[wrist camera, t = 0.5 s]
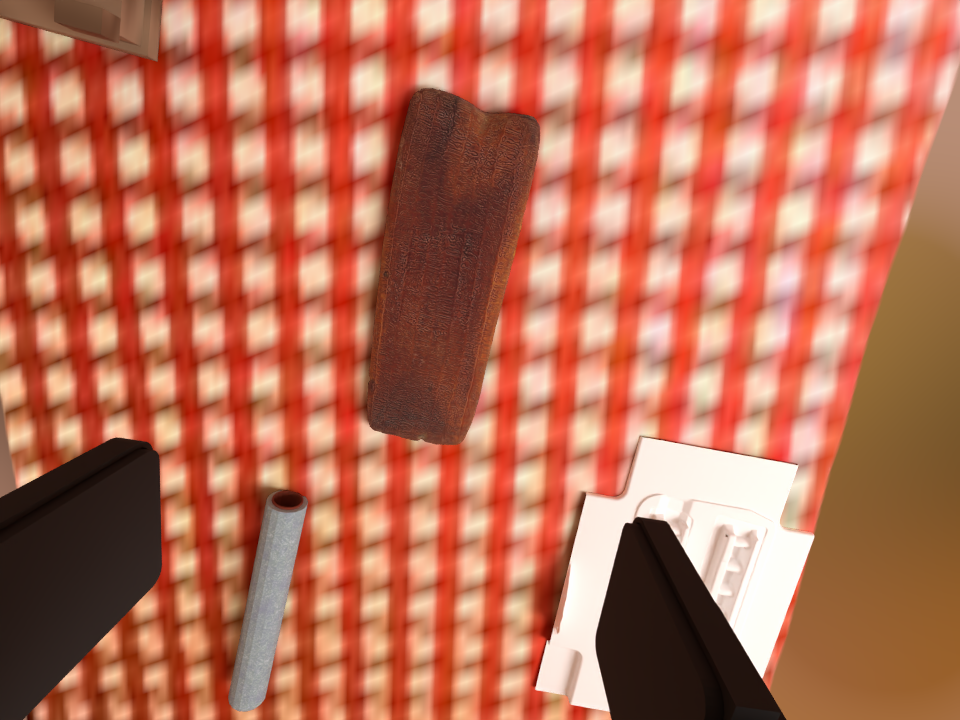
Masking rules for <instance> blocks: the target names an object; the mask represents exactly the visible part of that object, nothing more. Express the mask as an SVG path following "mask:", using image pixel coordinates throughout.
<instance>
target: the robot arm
mask: <svg viewBox="0 0 960 720" xmlns="http://www.w3.org/2000/svg"><path fill="white" fill-rule="evenodd" d="M161 568H162V552H161V508H160V463H159V455H158V453H157V452H156V451H154V450H153V448H152V446H151V444H149V443H148V442H144V441H137V440H131V439H124V438H113V439H110V440H108V441H106V442H105V443H103V444H101V445H99V446H97V447H95V448H93V449H91V450H89V451H88V452H86V453H84V454H82V455H80V456H78V457H76V458H74V459H73V460H71V461H69V462H67V463H65V464H63V465H61V466H59V467H57V468H56V469H54V470H52V471H50V472H48V473H46V474H44V475H42V476H40V477H39V478H37V479H35V480H33V481H31V482H29V483H27V484H25V485H23V486H22V487H20V488H18V489H16V490H14V491H12V492H10V493H9V494H7V495H5V496H3V497H1V498H0V720H23V719H24V718H25V717H26V716H27V715H28V714H29V713H30V712H31V711H32V710H33V709H34V708H35V707H36V706H37V704H38V703H39V702H40V701H41V700H42V699H43V698H44V697H45V696H46V695H47V694H48V693H49V692H50V691H51V690H52V689H53V688H54V687H55V686H56V685H57V684H58V683H59V682H60V681H61V680H62V679H63V678H64V677H65V676H66V675H67V674H68V673H69V672H70V671H71V670H72V669H73V668H74V667H75V666H76V665H77V664H78V663H79V662H80V661H81V660H82V658H83V657H84V656H85V655H86V654H87V653H88V652H89V651H90V650H91V649H92V648H93V647H94V646H95V645H96V644H97V643H98V642H99V641H100V640H101V639H102V638H103V637H104V636H105V635H106V634H107V633H108V632H109V631H110V630H111V629H112V628H113V627H114V626H115V625H116V624H117V623H118V622H119V621H120V620H121V619H122V618H123V617H124V616H125V615H126V613H127V612H128V611H129V610H130V609H131V608H132V607H133V606H134V605H135V604H136V603H137V602H138V601H139V600H140V599H141V598H142V597H143V596H144V595H145V594H146V593H147V592H148V591H149V590H150V589H151V588H152V587H153V586H154V584H155V583H156V581H157V580H158V578H159V575H160V572H161ZM595 648H596V655H597V659H598V664H599V668H600V672H601V676H602V681H603V685H604V689H605V693H606V697H607V702H608V706H609V710H610V714H611V719H612V720H786V718H785V717H784V715H783V713H782V712H781V710H780V708H779V707H778V705H777V703H776V702H775V700H774V698H773V697H772V695H771V693H770V691H769V690H768V688H767V686H766V685H765V683H764V681H763V680H762V678H761V676H760V675H759V673H758V671H757V670H756V668H755V666H754V665H753V663H752V661H751V660H750V658H749V656H748V655H747V653H746V651H745V650H744V648H743V646H742V644H741V643H740V641H739V639H738V638H737V636H736V634H735V633H734V631H733V629H732V628H731V626H730V624H729V623H728V621H727V619H726V618H725V616H724V614H723V613H722V611H721V609H720V608H719V606H718V605H717V604H716V602H715V601H714V599H713V598H712V596H711V594H710V593H709V591H708V589H707V587H706V586H705V584H704V582H703V581H702V579H701V577H700V576H699V574H698V572H697V571H696V569H695V567H694V566H693V564H692V562H691V561H690V559H689V557H688V555H687V554H686V552H685V550H684V549H683V547H682V545H681V544H680V542H679V540H678V539H677V537H676V535H675V534H674V532H673V530H672V528H671V527H670V525H669V524H668V523H667V521H663V520H656V519H650V518H643V517H636V518H635V519H634V521H633V523H625V525H624V526H623V529H622V533H621V537H620V541H619V545H618V549H617V553H616V556H615V560H614V564H613V568H612V572H611V576H610V580H609V584H608V588H607V592H606V595H605V599H604V603H603V607H602V611H601V615H600V619H599V623H598V627H597V631H596V637H595Z"/></svg>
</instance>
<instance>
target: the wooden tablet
mask: <svg viewBox="0 0 960 720" xmlns="http://www.w3.org/2000/svg"><path fill="white" fill-rule="evenodd" d="M539 143H540V126H539V124H538V123H537V121H536V119H535V118H534V117H532V116H529V115H521V114H514V113H513V114H511V113H505V114H499V113H498V114H495V113H488V112H483V111H481V110H479V109H478V108H476V107H475V106H474V105H473V104H471V103H469V102H468V101H466V100H464V99H462V98H460V97H458V96H455V95H453V94H450V93H447V92H445V91H441V90H436V89H433V88H431V89H421V91H418V92H416V93H415V94H414V95H413V97H412V99H411V100H410V104H409V108H408V112H407V116H406V120H405V124H404V127H403V131H402V135H401V140H400V144H399V149H398V155H397V161H396V166H395V172H394V176H393V183H392V189H391V194H390V201H389V206H388V215H387V221H386V227H385V235H384V241H383V248H382V258H381V268H380V276H379V286H378V294H377V302H376V313H375V322H374V333H373V343H372V350H371V361H370V369H369V376H370V379H371V380H370V382H369V383H368V400H367V411H368V421H369V425H370V427H371V428H372V429H373V430H375V431H379V432H382V433H385V434H391V435H396V436H400V437H402V438H406V439H410V440H415V441H418V440H420V439H423V440H424V441H425V442H429V443H433V444H442V445H445V444H446V445H457V444H460V443H461V442H462V441H463V440H464V438H465V436H466V434H467V432H468V430H469V428H470V425H471V423H472V420H473V418H474V415H475V411H476V407H477V404H478V400H479V396H480V393H481V388H482V383H483V379H484V374H485V369H486V365H487V361H488V357H489V353H490V349H491V344H492V341H493V336H494V332H495V327H496V324H497V320H498V316H499V312H500V309H501V305H502V301H503V297H504V294H505V290H506V286H507V282H508V278H509V274H510V270H511V266H512V263H513V259H514V255H515V251H516V247H517V241H518V238H519V234H520V230H521V226H522V220H523V216H524V212H525V209H526V204H527V200H528V196H529V192H530V188H531V184H532V179H533V176H534V171H535V166H536V161H537V157H538V149H539Z"/></svg>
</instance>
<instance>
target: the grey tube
mask: <svg viewBox="0 0 960 720" xmlns="http://www.w3.org/2000/svg"><path fill="white" fill-rule="evenodd" d="M307 504H308V501H307V498H306V497H304V496H301V495H300V494H299V493H296V492H293V491H282V490H280V491H276V492H273V493H272V494H270V495H269V496H268V498H267V500H266V505H265V511H264V516H263V521H262V526H261V531H260V536H259V542H258V547H257V552H256V557H255V562H254V567H253V573H252V578H251V583H250V588H249V593H248V598H247V604H246V609H245V614H244V619H243V624H242V630H241V635H240V640H239V645H238V650H237V655H236V661H235V666H234V671H233V676H232V681H231V686H230V692H229V704H230V705H231V706H232V708H234V709H236V710H238V711H249V710H253V709H255V708H256V707H258V706H259V705H260V704H261V703H262V702H263V700H264V699H265V695H266V692H267V687H268V682H269V678H270V673H271V669H272V664H273V659H274V655H275V650H276V646H277V641H278V637H279V632H280V627H281V623H282V618H283V614H284V609H285V604H286V600H287V595H288V591H289V586H290V582H291V577H292V572H293V568H294V563H295V559H296V554H297V549H298V545H299V540H300V536H301V531H302V527H303V522H304V517H305V513H306V508H307Z"/></svg>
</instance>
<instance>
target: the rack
mask: <svg viewBox="0 0 960 720" xmlns="http://www.w3.org/2000/svg"><path fill="white" fill-rule="evenodd" d="M161 11H162V0H0V18H3V19H7V20H11V21H14V22H18V23H21V24H25V25H28V26H32V27H36V28H39V29H43V30H46V31H50V32H54V33H57V34H61V35H64V36H68V37H71V38H75V39H79V40H82V41H86V42H89V43H93V44H96V45H100V46H104V47H107V48H111V49H114V50H118V51H121V52H125V53H129V54H132V55H136V56H139V57H143V58H147V59H150V60H154V61H157V60H158V48H159V36H160V23H161Z"/></svg>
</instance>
